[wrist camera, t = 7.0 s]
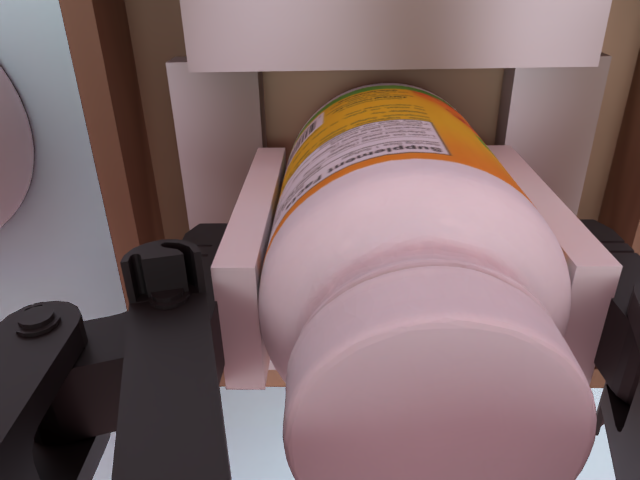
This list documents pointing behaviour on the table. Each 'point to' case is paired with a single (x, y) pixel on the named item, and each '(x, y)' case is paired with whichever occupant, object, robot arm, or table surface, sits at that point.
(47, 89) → the table surface
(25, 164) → the mug
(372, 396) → the supplement bottle
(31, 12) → the table surface
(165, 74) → the walled box
